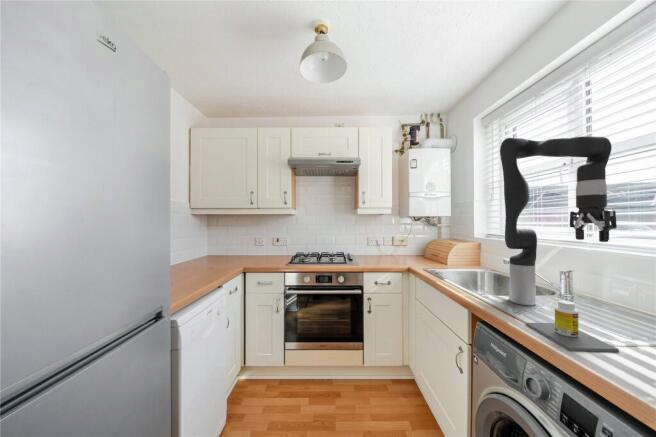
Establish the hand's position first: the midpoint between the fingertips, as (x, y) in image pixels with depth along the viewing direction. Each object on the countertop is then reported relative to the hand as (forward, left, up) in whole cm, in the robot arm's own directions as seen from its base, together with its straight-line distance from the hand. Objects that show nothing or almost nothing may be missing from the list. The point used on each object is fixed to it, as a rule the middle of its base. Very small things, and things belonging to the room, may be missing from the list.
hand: (591, 240), depth 89 cm
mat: (+8, -15, -30) cm, 35 cm away
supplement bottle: (+8, -15, -30) cm, 34 cm away
